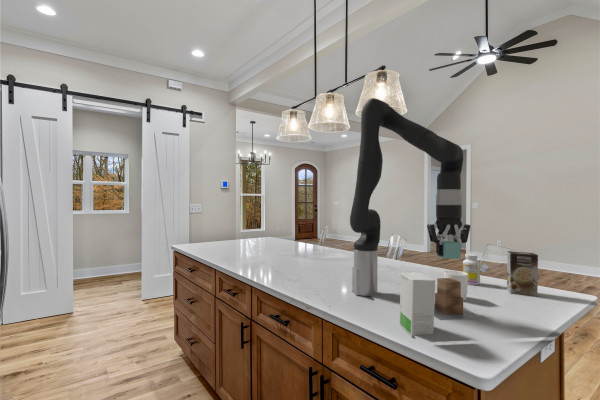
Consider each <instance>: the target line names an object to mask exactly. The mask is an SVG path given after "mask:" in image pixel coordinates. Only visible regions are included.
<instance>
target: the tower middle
mask: <svg viewBox="0 0 600 400" xmlns="http://www.w3.org/2000/svg"><path fill="white" fill-rule="evenodd" d="M436 281H437V282H436V285H437V287H436V293H437V294H439V295H441V296H443V297H445V298H461V282H460V281H457V280H455V279H452V278H445V277H442V278H441V277H440V278H439V277H438V278H436Z"/></svg>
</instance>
